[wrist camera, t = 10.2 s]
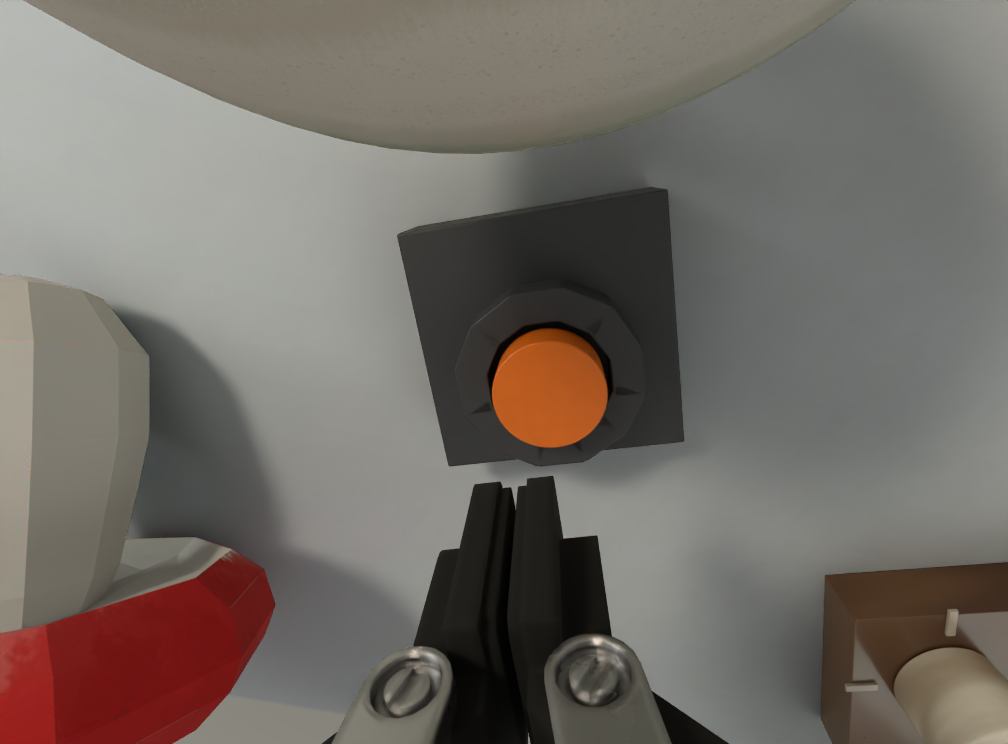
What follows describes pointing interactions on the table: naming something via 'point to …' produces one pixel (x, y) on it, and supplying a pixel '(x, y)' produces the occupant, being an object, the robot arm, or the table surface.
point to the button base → (550, 316)
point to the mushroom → (100, 545)
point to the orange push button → (550, 388)
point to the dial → (954, 697)
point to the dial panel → (901, 640)
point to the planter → (450, 60)
